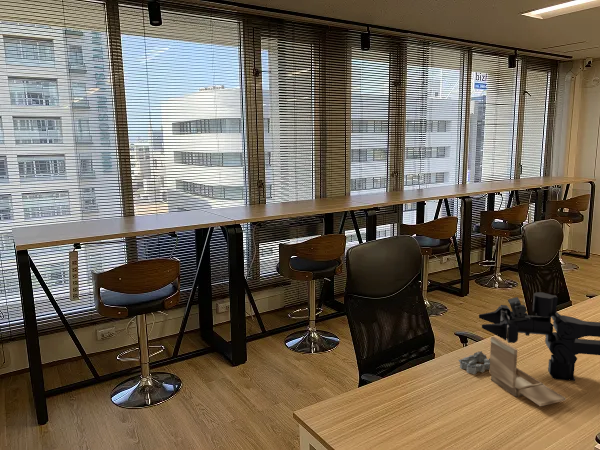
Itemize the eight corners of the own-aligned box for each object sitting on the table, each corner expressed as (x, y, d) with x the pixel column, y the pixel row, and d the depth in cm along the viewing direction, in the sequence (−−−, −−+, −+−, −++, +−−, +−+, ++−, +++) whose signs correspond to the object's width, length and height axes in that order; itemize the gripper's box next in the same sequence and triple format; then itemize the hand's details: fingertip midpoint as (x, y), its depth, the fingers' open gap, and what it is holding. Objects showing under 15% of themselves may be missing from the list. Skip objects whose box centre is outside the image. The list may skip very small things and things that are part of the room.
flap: (491, 372, 152) (493, 336, 150) (515, 387, 142) (517, 349, 140) (488, 373, 151) (490, 337, 149) (512, 388, 142) (514, 350, 140)
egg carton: (481, 361, 167) (482, 350, 166) (497, 370, 159) (497, 359, 159) (455, 366, 163) (456, 354, 163) (470, 376, 156) (470, 364, 155)
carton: (516, 374, 156) (516, 367, 155) (566, 405, 138) (566, 397, 137) (490, 380, 153) (491, 372, 152) (538, 412, 135) (539, 403, 134)
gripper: (527, 291, 162) (478, 289, 166) (539, 310, 144) (484, 307, 148) (525, 323, 164) (477, 319, 168) (537, 345, 146) (482, 341, 150)
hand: (480, 321), depth 158 cm, fingers open, 9 cm apart
